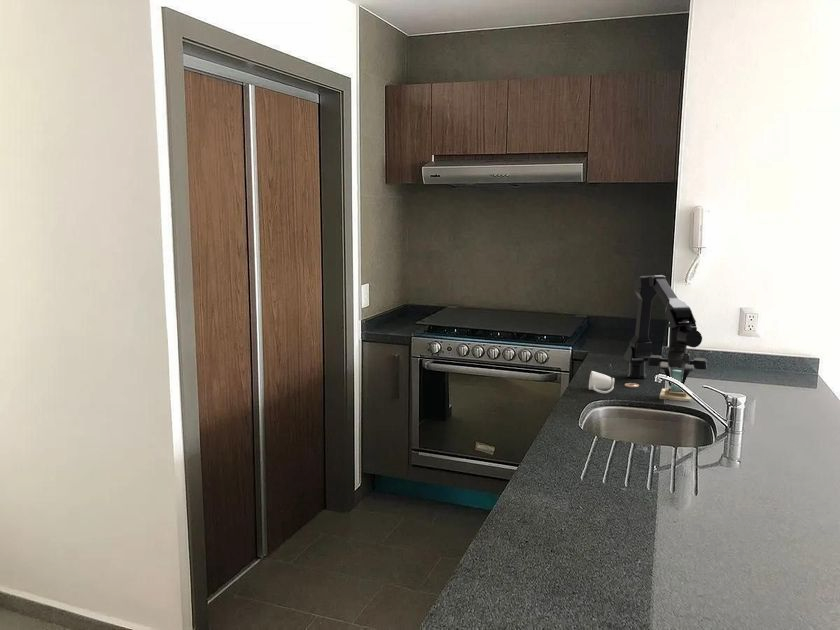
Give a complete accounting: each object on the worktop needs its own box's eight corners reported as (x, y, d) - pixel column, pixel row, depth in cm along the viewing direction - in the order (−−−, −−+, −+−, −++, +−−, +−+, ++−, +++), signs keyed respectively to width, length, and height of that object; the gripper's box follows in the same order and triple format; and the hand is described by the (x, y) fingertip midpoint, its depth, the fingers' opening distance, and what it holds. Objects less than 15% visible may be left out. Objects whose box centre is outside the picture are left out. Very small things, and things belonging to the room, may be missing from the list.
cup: (614, 370, 254) (592, 366, 255) (616, 385, 245) (592, 382, 246) (610, 386, 257) (588, 382, 258) (612, 402, 249) (588, 398, 250)
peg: (671, 389, 245) (671, 369, 244) (682, 390, 244) (682, 370, 243) (670, 391, 242) (670, 371, 241) (681, 392, 241) (682, 372, 240)
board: (662, 390, 251) (662, 385, 251) (692, 393, 247) (692, 388, 247) (659, 398, 240) (659, 393, 240) (690, 401, 236) (690, 396, 236)
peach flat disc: (625, 383, 262) (625, 382, 262) (639, 384, 260) (639, 383, 260) (623, 386, 257) (623, 385, 257) (637, 387, 255) (637, 386, 255)
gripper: (646, 344, 237) (645, 389, 239) (706, 348, 230) (704, 394, 232) (650, 339, 247) (648, 382, 250) (707, 342, 240) (705, 386, 242)
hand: (676, 386), depth 243 cm, fingers closed on peg, 4 cm apart
